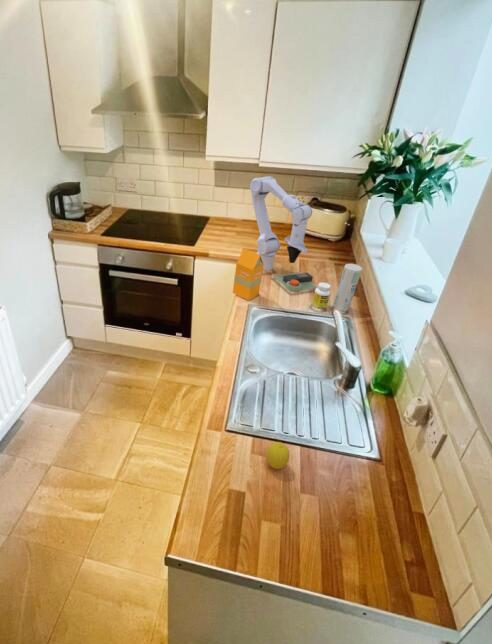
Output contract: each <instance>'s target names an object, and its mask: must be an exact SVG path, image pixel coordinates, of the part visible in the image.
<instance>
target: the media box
mask: <svg viewBox="0 0 492 644" xmlns="http://www.w3.org/2000/svg"><path fill="white" fill-rule="evenodd" d="M293 274H300V272H293V273H284V274H279V275H278V274H276V275H273V276H272V277H273V278H274V279H275V280H277V281H278V282H279V283H280V284H282V285H283V286H284V288H286V290H288V291H290V292H291V293H295V292H301V291H307V290H312V289H313V290H315V289H316V288H318V286H316V285H315V284H314V283H312V281H310V282H303V283H299V284H298V286H292V285H290V281H288V282H287V283H285V282H284V281H283V276H286V275H293Z"/></svg>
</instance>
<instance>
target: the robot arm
mask: <svg viewBox="0 0 492 644" xmlns="http://www.w3.org/2000/svg"><path fill="white" fill-rule="evenodd" d="M249 188H250V193H251V202H252V206H253V210H254V214H255V218H256V222H257V227H258V231H259V237H258V238H257V240H256V242H257V252H256V253H257V254H259V255H260V256H261V258H262V261H263V264H264V267H263V272H270V271H272V270H273V268H274V262H275V256H276V254H277V252H279V250H280V248H281V243H280V240H279V238H278V236H277V235H276V233H274V232H273V230H272V226H271V223H270V222H271V221H270V218H269V214H268V213H269V212H268V209H267V205H266V201H265V199H266V197H267V196H268V195H269V194H270V193H271V194H272V195H274V196H275V197H276V198H278V199H279V200H280V201H281V202H282V203H281V204H282V206H283V208H285V209H286V210H287V211H288V212H289V213H291V217H292V226H291V227H292V228H291V232H290V237H289V236H288V237H287V236H286V237H284V243H287V244H288V246H287V247H286V250H287V252H288V261H289V263H290V264H294V263H296V261H297V259H298V257H299V256H300V255H301V254H308V248H307V247H306V246H305V242H304V239H305V236H306V232H307V231H306V230H307V225H308V221H309V219H310V218H311V217H312V215H313V209H312V207H311V206H310V204H304V203H303V202H302V201H301V200H299V199H298V198H297V196H296V195H295V194H288V193H287V192H286V191H285V189H284V188H283V187H281V186H280V185H279V184H278V183H277V179H275V178H274V177H273V176H272V175H268V176H262V177H255V178H253V179H252V181H251V182H250V185H249Z"/></svg>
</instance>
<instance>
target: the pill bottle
mask: <svg viewBox="0 0 492 644" xmlns="http://www.w3.org/2000/svg"><path fill="white" fill-rule="evenodd" d="M331 287H332V286H331V285H330V283H327V282H319V283H318V285H317V288H315V289H314V293H313V297H312V301H311V306H312V307H313V308H314V309H317V310H325V309H327V306H328V304H329V300H330V297H331Z"/></svg>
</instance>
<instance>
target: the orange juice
mask: <svg viewBox="0 0 492 644" xmlns="http://www.w3.org/2000/svg"><path fill="white" fill-rule="evenodd" d="M240 253H241V254H240V256H239V257H238V259H237V261H236V265H235V272H234V279H233V286H232V287H233V288H232V294H234V295H236V296H238V297H240V298H243V299H245V300H246V301H250V300H252V299H254V298H255V297H257V296H259V293H260V289H261V283H262V279H263V273H264V271H263V267H264V264H263V261H262V258H261V256H260V255H259V254H257V252H254V251H253V250H249V249H246V248H243V249H242V251H241V252H240Z"/></svg>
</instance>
